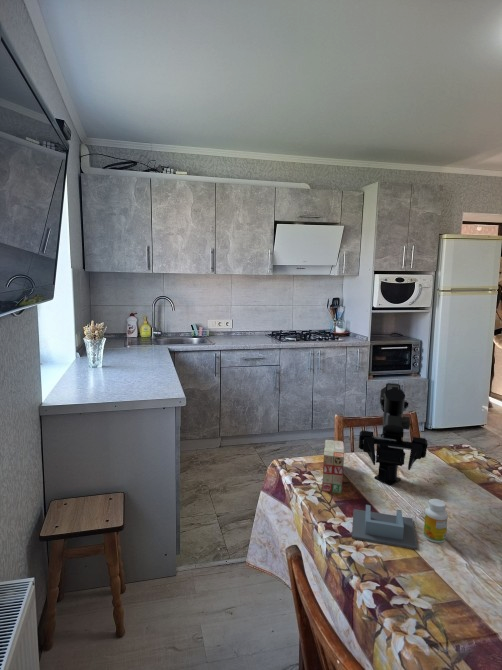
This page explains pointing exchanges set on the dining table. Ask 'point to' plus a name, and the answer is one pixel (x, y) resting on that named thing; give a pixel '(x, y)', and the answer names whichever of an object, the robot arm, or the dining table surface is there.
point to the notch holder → (384, 528)
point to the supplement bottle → (435, 521)
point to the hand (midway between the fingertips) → (391, 466)
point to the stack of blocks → (333, 466)
